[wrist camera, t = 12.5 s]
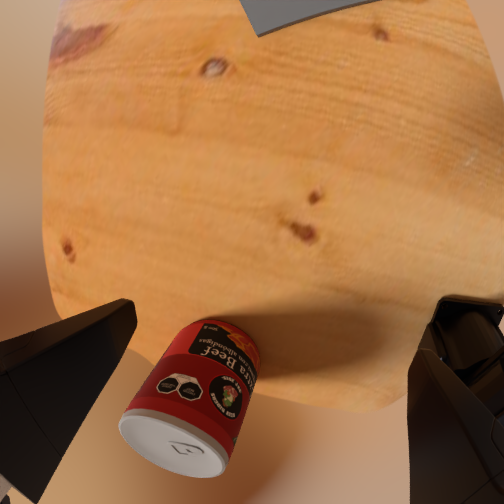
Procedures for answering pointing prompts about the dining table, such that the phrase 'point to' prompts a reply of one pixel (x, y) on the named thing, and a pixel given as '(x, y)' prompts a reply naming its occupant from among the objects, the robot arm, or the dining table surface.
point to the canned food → (194, 400)
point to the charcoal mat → (290, 12)
